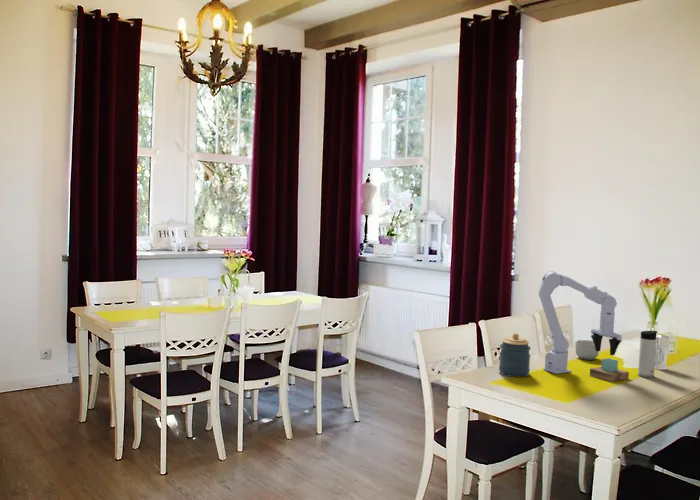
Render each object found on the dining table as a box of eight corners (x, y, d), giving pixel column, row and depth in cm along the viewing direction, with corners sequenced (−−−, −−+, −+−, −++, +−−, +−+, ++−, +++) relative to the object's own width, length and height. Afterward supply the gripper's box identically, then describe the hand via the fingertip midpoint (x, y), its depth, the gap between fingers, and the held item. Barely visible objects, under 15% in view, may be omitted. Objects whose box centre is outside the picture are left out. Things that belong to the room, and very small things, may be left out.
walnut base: (611, 381, 267) (611, 374, 267) (589, 375, 277) (590, 368, 277) (628, 378, 273) (628, 372, 273) (606, 372, 282) (606, 365, 282)
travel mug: (656, 378, 274) (659, 332, 273) (639, 377, 276) (642, 331, 274) (652, 374, 281) (655, 330, 279) (636, 373, 282) (639, 329, 280)
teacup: (601, 361, 303) (602, 345, 302) (578, 360, 303) (579, 344, 302) (591, 354, 317) (592, 338, 316) (569, 354, 317) (570, 338, 316)
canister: (492, 372, 277) (494, 332, 275) (508, 368, 286) (510, 329, 284) (519, 379, 267) (521, 337, 266) (535, 374, 277) (537, 334, 275)
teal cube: (610, 372, 272) (611, 361, 271) (601, 369, 275) (602, 359, 275) (617, 370, 274) (617, 360, 273) (608, 368, 278) (609, 358, 277)
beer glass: (664, 366, 295) (666, 335, 294) (670, 370, 289) (672, 338, 287) (648, 366, 296) (650, 334, 295) (654, 370, 289) (656, 337, 288)
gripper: (627, 324, 274) (625, 355, 275) (599, 318, 286) (597, 348, 287) (616, 325, 270) (614, 357, 271) (588, 319, 283) (586, 350, 284)
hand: (605, 353), depth 279 cm, fingers open, 7 cm apart
